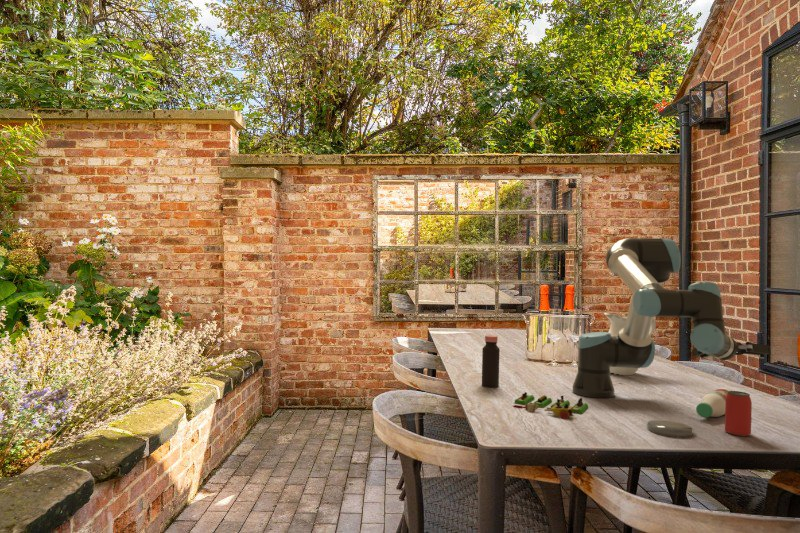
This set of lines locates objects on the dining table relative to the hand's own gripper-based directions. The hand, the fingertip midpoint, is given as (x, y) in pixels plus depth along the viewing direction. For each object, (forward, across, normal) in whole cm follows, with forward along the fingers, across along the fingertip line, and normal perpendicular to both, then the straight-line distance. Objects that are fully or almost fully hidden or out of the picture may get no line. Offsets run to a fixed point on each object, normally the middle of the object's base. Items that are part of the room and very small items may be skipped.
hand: (735, 355), depth 165 cm
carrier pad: (-15, -17, -24) cm, 33 cm away
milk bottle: (+24, -9, -12) cm, 28 cm away
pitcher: (+65, -56, +2) cm, 86 cm away
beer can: (-2, -2, -24) cm, 24 cm away
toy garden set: (-19, -54, -18) cm, 60 cm away
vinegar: (-5, -86, -9) cm, 86 cm away
